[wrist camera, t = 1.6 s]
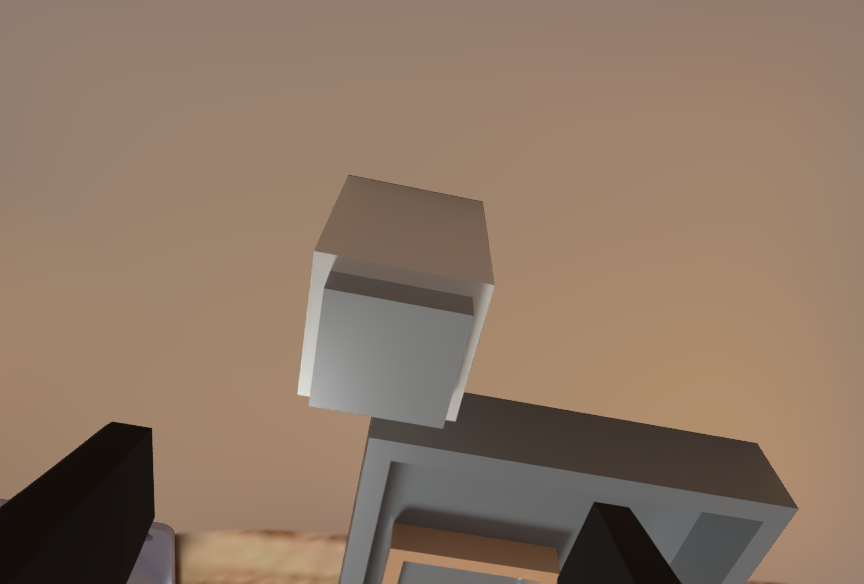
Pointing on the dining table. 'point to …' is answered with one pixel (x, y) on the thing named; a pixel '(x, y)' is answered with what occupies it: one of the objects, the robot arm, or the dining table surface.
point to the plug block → (396, 303)
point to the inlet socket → (467, 554)
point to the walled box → (563, 489)
